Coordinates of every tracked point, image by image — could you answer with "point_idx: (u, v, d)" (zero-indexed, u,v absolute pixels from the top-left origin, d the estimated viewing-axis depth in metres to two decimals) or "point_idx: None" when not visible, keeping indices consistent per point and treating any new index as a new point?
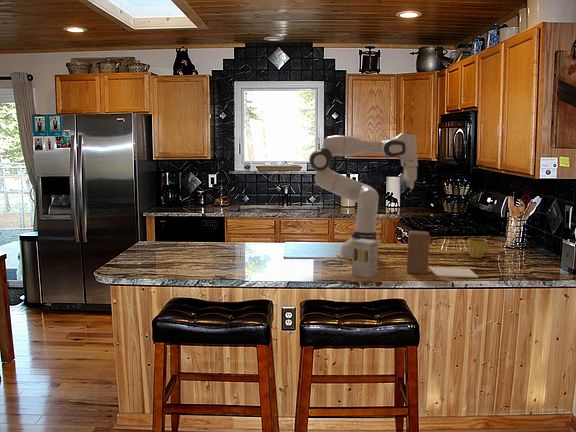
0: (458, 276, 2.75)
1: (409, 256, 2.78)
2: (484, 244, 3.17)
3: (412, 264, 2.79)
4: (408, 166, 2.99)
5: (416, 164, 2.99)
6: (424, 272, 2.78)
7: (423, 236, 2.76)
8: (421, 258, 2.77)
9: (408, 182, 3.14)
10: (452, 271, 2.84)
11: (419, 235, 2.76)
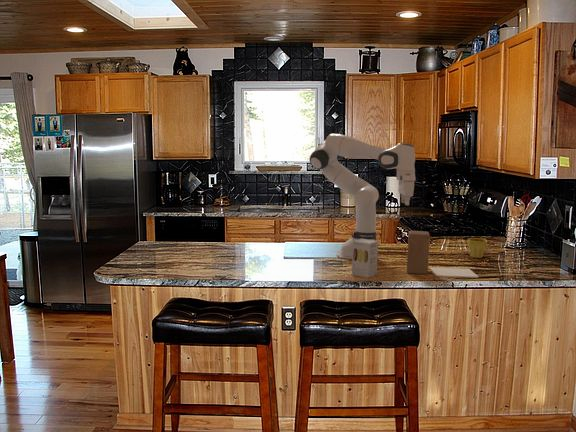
0: (458, 276, 2.75)
1: (409, 256, 2.78)
2: (484, 244, 3.17)
3: (412, 264, 2.79)
4: (405, 180, 2.72)
5: (413, 178, 2.72)
6: (424, 272, 2.78)
7: (423, 236, 2.76)
8: (421, 258, 2.77)
9: (403, 197, 2.87)
10: (452, 271, 2.84)
11: (419, 235, 2.76)
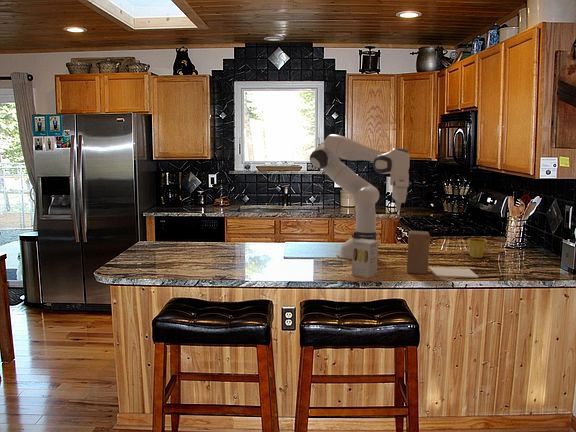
0: (458, 276, 2.75)
1: (409, 256, 2.78)
2: (484, 244, 3.17)
3: (412, 264, 2.79)
4: (398, 186, 2.69)
5: (407, 185, 2.69)
6: (424, 272, 2.78)
7: (423, 236, 2.76)
8: (421, 258, 2.77)
9: None
10: (452, 271, 2.84)
11: (419, 235, 2.76)
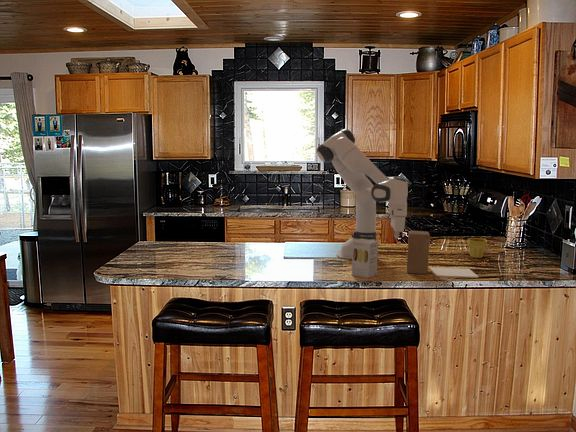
0: (458, 276, 2.75)
1: (409, 256, 2.78)
2: (484, 244, 3.17)
3: (412, 264, 2.79)
4: (396, 215, 2.71)
5: (405, 214, 2.71)
6: (424, 272, 2.78)
7: (423, 236, 2.76)
8: (421, 258, 2.77)
9: None
10: (452, 271, 2.84)
11: (419, 235, 2.76)
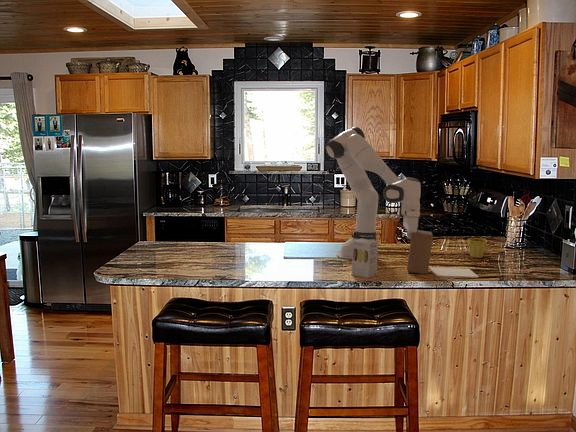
0: (458, 276, 2.75)
1: (411, 255, 2.78)
2: (484, 244, 3.17)
3: (412, 263, 2.78)
4: (409, 216, 2.71)
5: (418, 214, 2.70)
6: (424, 272, 2.78)
7: (426, 236, 2.75)
8: (423, 257, 2.77)
9: None
10: (452, 271, 2.84)
11: (422, 235, 2.76)
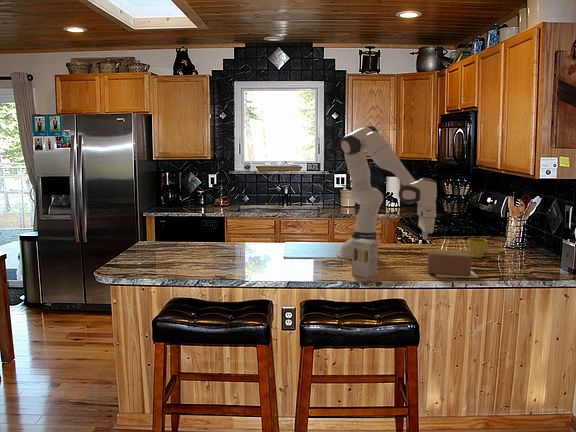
0: (458, 276, 2.75)
1: (447, 256, 2.75)
2: (484, 244, 3.17)
3: (438, 259, 2.75)
4: (425, 217, 2.71)
5: (434, 215, 2.70)
6: (430, 271, 2.77)
7: (468, 270, 2.74)
8: (445, 268, 2.75)
9: None
10: None
11: (469, 266, 2.73)
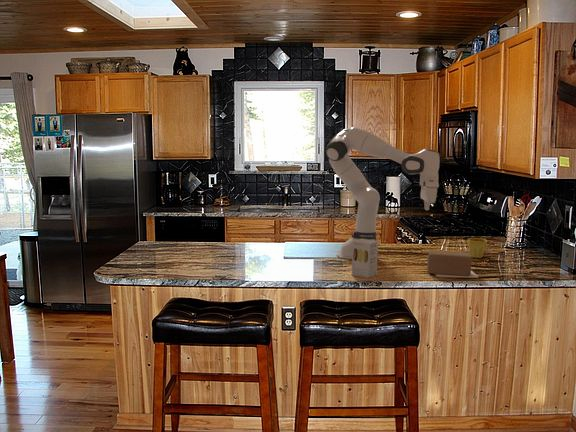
0: (458, 276, 2.75)
1: (447, 256, 2.75)
2: (484, 244, 3.17)
3: (438, 259, 2.75)
4: (428, 186, 2.73)
5: (437, 185, 2.73)
6: (430, 271, 2.77)
7: (468, 270, 2.74)
8: (445, 268, 2.75)
9: None
10: None
11: (469, 266, 2.73)
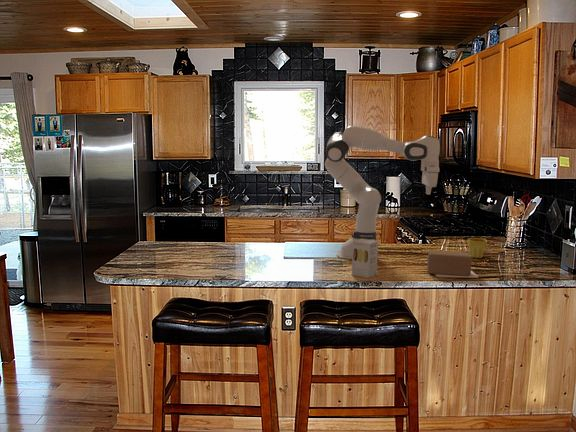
0: (458, 276, 2.75)
1: (447, 256, 2.75)
2: (484, 244, 3.17)
3: (438, 259, 2.75)
4: (429, 171, 2.85)
5: (437, 170, 2.85)
6: (430, 271, 2.77)
7: (468, 270, 2.74)
8: (445, 268, 2.75)
9: None
10: None
11: (469, 266, 2.73)
